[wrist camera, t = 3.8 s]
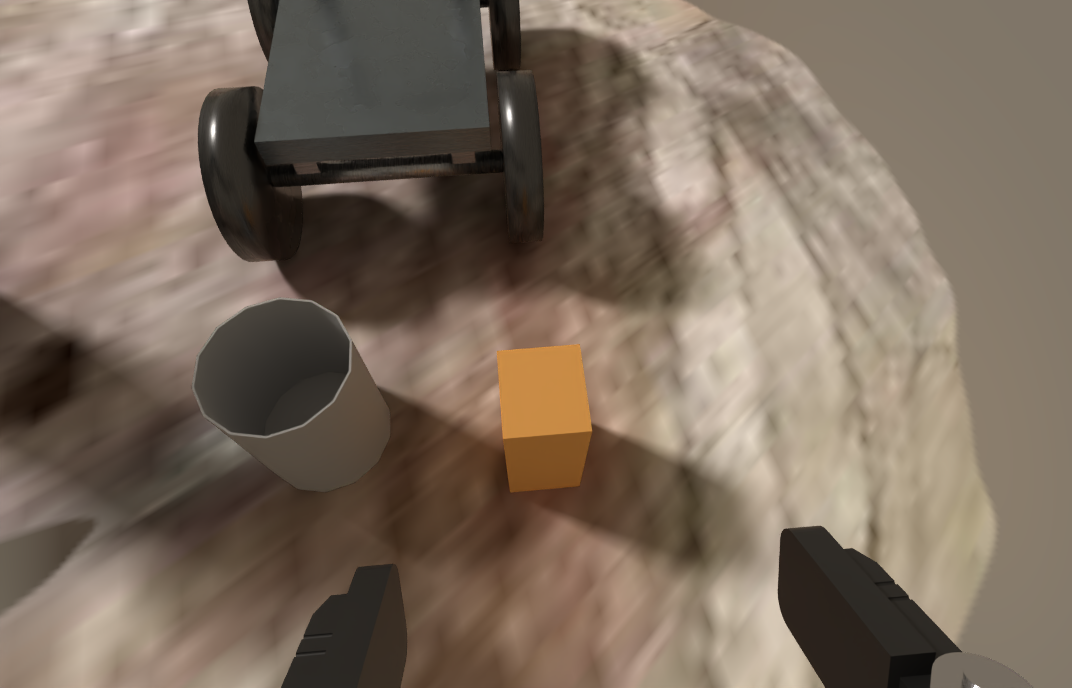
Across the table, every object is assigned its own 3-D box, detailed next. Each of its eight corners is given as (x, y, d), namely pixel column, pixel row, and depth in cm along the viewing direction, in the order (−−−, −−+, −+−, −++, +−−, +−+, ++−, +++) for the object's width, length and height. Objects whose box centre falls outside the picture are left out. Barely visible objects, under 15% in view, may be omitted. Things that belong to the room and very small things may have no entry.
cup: (274, 509, 39) (198, 459, 30) (257, 397, 43) (185, 323, 34) (404, 465, 40) (368, 406, 32) (377, 360, 44) (337, 281, 35)
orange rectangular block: (579, 486, 40) (592, 431, 31) (510, 492, 39) (502, 438, 31) (570, 414, 42) (579, 344, 33) (504, 419, 42) (496, 351, 33)
